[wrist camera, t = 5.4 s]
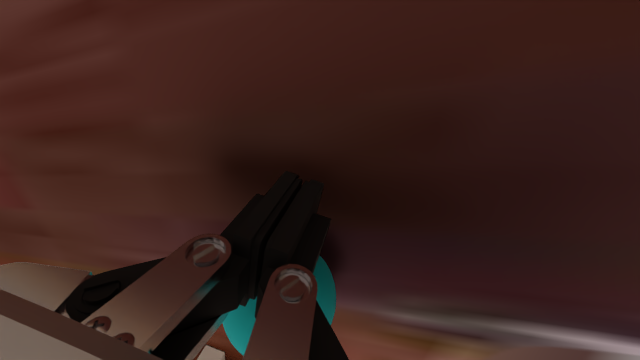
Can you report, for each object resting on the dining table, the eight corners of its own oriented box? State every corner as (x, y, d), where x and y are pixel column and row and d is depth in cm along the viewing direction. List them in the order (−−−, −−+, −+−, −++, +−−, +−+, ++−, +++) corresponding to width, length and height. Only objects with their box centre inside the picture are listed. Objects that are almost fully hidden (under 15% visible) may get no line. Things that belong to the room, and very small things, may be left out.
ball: (257, 205, 14) (186, 291, 9) (356, 237, 13) (333, 349, 8) (253, 270, 16) (198, 360, 12) (333, 298, 16) (307, 407, 11)
